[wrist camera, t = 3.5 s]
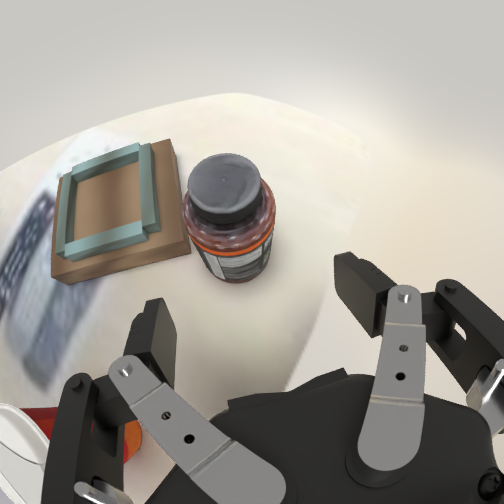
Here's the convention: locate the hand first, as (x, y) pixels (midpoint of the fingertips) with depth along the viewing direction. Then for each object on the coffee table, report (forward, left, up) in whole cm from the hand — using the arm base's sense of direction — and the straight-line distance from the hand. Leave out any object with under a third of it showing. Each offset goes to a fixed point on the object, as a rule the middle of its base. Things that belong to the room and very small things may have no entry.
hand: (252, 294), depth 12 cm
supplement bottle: (0, +6, -11) cm, 13 cm away
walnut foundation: (-11, +13, -11) cm, 20 cm away
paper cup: (-15, -8, -11) cm, 20 cm away
